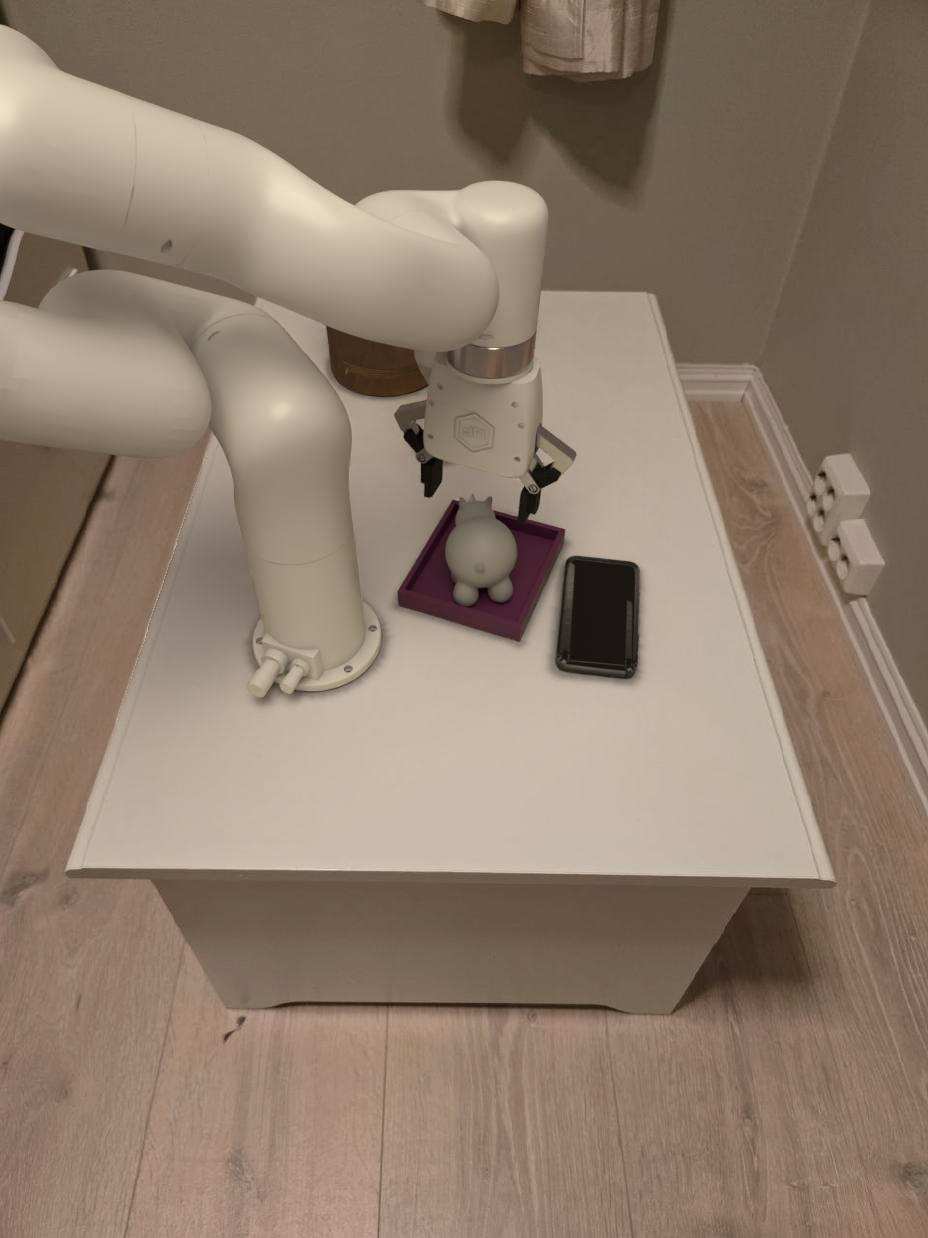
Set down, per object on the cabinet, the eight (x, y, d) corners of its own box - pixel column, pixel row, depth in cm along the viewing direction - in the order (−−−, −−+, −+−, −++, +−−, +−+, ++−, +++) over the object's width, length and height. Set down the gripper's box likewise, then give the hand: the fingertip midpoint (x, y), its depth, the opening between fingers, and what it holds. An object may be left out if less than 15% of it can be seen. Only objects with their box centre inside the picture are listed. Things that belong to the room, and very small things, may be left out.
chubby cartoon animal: (506, 529, 99) (509, 469, 92) (518, 610, 91) (523, 550, 84) (441, 532, 98) (440, 472, 92) (447, 613, 90) (447, 553, 84)
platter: (519, 641, 89) (520, 627, 87) (398, 605, 92) (397, 591, 90) (563, 543, 98) (565, 528, 97) (452, 513, 101) (452, 498, 100)
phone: (555, 663, 86) (566, 554, 95) (554, 670, 86) (565, 561, 96) (638, 672, 85) (640, 562, 95) (636, 680, 86) (639, 569, 95)
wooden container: (438, 334, 126) (435, 173, 110) (443, 395, 116) (441, 229, 100) (333, 337, 125) (314, 175, 109) (329, 399, 116) (308, 232, 99)
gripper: (376, 342, 74) (382, 502, 86) (576, 392, 70) (551, 551, 83) (412, 301, 79) (412, 458, 91) (601, 346, 75) (574, 503, 88)
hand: (478, 502), depth 87 cm, fingers open, 9 cm apart
